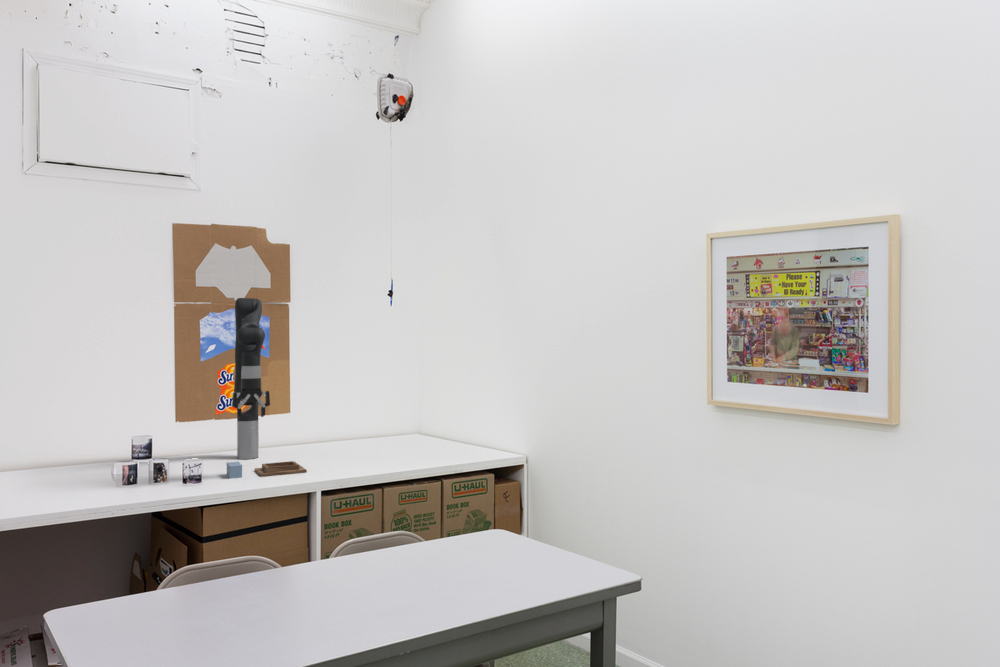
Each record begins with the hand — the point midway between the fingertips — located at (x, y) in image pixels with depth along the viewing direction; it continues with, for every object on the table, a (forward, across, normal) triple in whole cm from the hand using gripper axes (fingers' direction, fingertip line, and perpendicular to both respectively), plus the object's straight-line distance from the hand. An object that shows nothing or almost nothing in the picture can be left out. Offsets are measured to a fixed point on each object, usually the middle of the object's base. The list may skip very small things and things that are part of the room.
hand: (251, 417), depth 283 cm
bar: (+23, +6, -2) cm, 24 cm away
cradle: (+23, -12, -1) cm, 26 cm away
